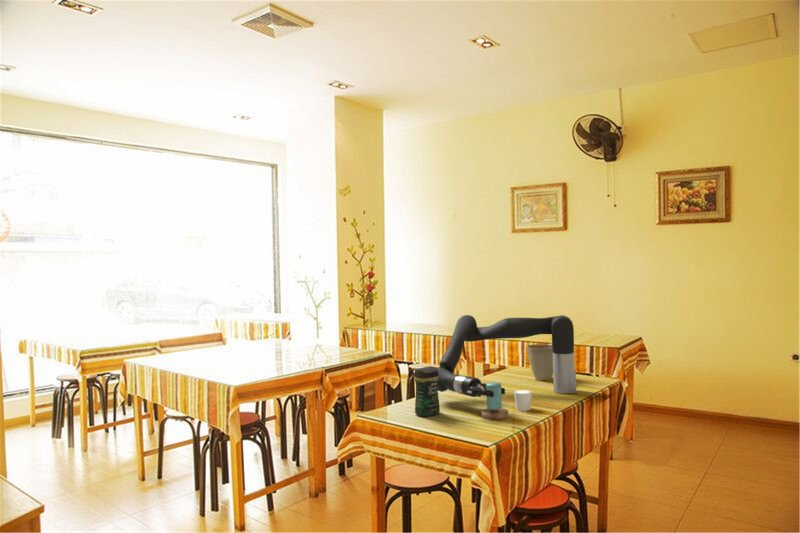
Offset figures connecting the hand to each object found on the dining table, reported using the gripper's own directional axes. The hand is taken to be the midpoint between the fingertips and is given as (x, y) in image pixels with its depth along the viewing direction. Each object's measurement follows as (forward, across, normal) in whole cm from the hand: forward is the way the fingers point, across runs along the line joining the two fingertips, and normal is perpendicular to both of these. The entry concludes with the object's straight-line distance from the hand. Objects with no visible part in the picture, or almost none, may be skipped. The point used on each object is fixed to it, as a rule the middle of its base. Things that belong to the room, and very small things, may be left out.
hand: (498, 392), depth 217 cm
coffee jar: (-24, -16, +10) cm, 30 cm away
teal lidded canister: (-3, 0, +6) cm, 7 cm away
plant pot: (-29, +63, +10) cm, 70 cm away
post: (-2, 0, +10) cm, 10 cm away
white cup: (-1, +15, +10) cm, 18 cm away
